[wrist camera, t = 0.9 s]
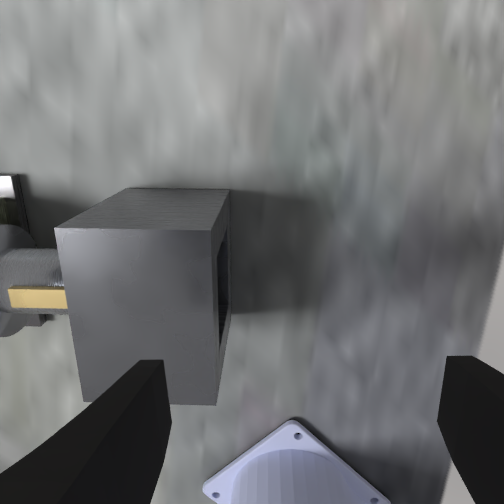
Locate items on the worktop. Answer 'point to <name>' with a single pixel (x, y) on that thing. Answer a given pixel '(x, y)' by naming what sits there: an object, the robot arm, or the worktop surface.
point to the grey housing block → (150, 288)
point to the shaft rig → (25, 267)
